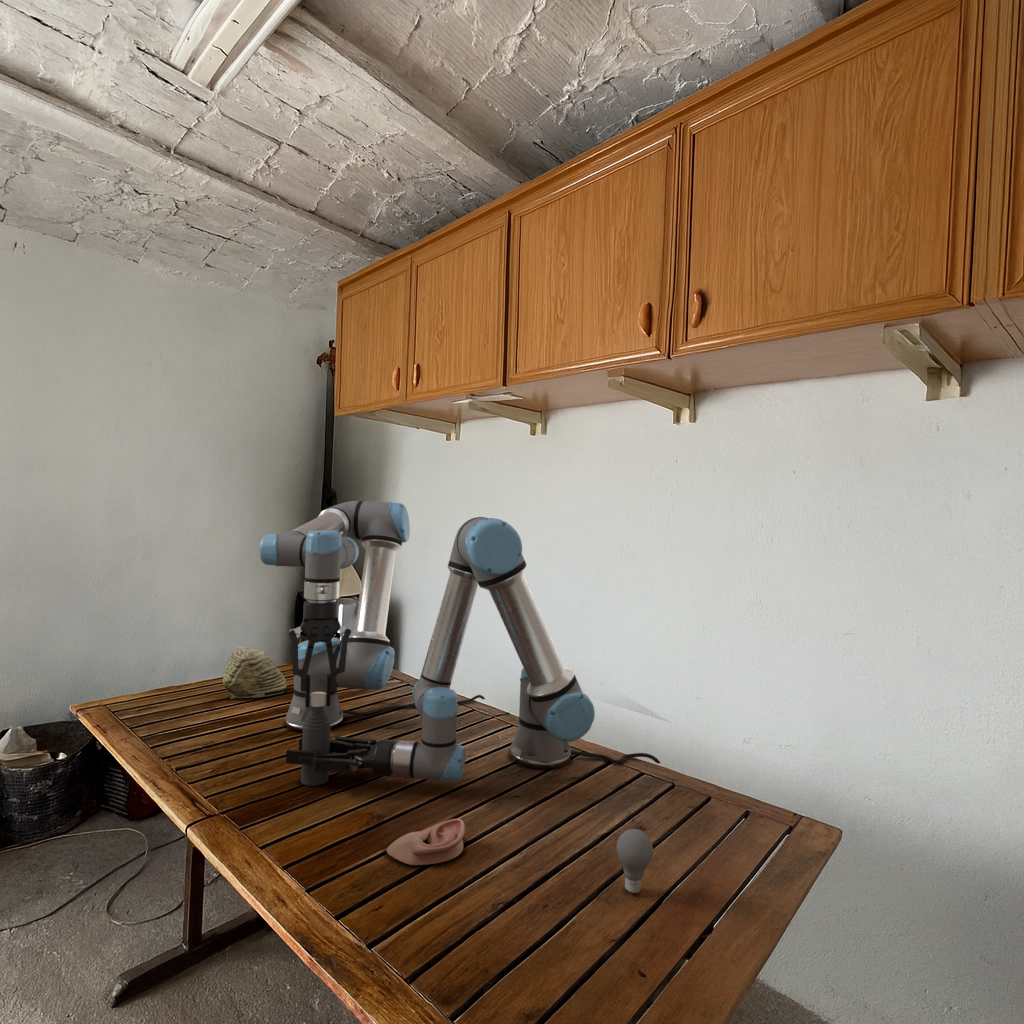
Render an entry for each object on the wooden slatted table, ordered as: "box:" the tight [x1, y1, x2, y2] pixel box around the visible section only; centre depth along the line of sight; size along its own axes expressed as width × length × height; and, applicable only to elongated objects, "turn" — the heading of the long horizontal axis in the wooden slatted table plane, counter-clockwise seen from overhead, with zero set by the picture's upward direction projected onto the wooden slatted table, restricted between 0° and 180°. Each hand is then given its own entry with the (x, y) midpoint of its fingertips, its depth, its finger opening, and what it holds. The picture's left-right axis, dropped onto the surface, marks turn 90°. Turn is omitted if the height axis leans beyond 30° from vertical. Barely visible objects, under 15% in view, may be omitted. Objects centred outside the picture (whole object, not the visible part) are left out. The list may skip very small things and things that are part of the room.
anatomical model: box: [386, 818, 466, 866], centre depth 115 cm, size 13×4×12 cm
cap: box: [309, 692, 327, 707], centre depth 141 cm, size 4×4×2 cm
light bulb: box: [615, 828, 654, 894], centre depth 106 cm, size 6×6×10 cm
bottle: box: [300, 706, 331, 787], centre depth 141 cm, size 6×6×19 cm
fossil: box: [222, 646, 288, 699], centre depth 198 cm, size 9×18×15 cm, turn 132°
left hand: (317, 704), depth 141 cm, fingers closed on cap, 4 cm apart
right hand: (293, 750), depth 142 cm, fingers closed on bottle, 6 cm apart
